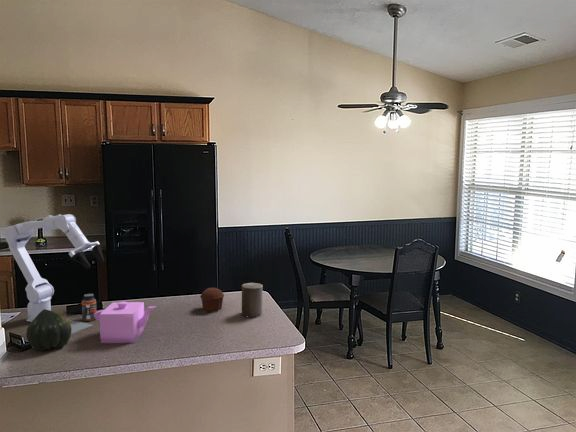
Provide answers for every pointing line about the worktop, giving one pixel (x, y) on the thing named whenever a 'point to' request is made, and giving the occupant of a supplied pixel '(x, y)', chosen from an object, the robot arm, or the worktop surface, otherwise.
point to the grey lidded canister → (252, 299)
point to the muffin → (212, 299)
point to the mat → (78, 326)
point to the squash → (48, 330)
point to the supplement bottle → (88, 307)
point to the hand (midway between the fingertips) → (95, 264)
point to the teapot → (122, 321)
